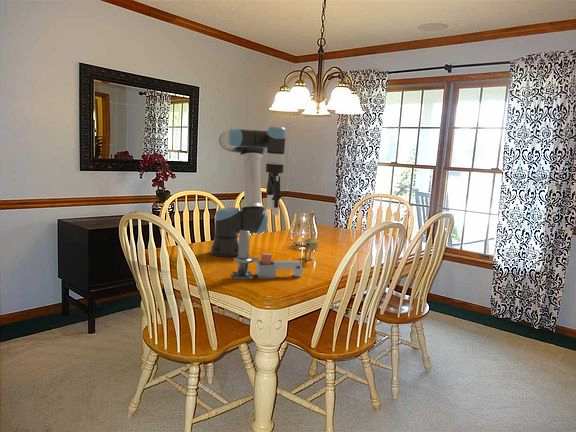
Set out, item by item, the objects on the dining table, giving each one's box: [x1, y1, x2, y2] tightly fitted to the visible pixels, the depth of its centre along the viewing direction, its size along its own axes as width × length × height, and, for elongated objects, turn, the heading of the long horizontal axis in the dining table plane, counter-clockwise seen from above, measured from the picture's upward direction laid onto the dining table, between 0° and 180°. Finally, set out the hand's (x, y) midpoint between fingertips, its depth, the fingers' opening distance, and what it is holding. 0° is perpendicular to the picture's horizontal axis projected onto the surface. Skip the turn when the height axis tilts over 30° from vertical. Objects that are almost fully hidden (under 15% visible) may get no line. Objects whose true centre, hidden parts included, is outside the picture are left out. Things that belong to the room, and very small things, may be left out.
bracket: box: [255, 260, 303, 280], centre depth 197 cm, size 7×20×6 cm, turn 104°
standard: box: [231, 230, 260, 281], centre depth 192 cm, size 8×10×20 cm
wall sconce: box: [298, 210, 319, 262], centre depth 226 cm, size 14×10×25 cm
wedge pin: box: [260, 252, 272, 265], centre depth 195 cm, size 4×4×10 cm
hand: (272, 212), depth 197 cm, fingers open, 13 cm apart
